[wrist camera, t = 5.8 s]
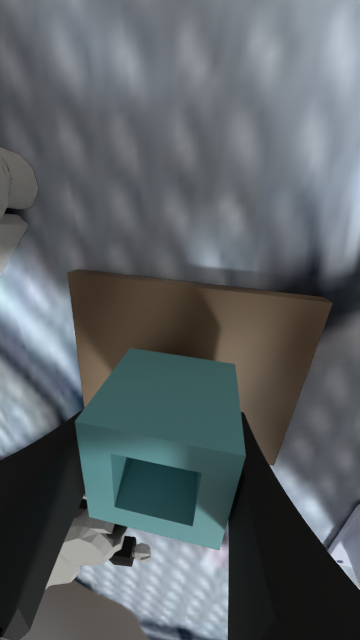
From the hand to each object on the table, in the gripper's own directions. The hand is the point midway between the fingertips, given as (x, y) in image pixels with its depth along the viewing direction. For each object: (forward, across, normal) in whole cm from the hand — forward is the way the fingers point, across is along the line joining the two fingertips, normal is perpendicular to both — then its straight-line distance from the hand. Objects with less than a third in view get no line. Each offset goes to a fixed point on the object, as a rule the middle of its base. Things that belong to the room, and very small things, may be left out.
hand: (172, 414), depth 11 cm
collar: (+1, 0, 0) cm, 1 cm away
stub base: (+4, 0, 0) cm, 4 cm away
